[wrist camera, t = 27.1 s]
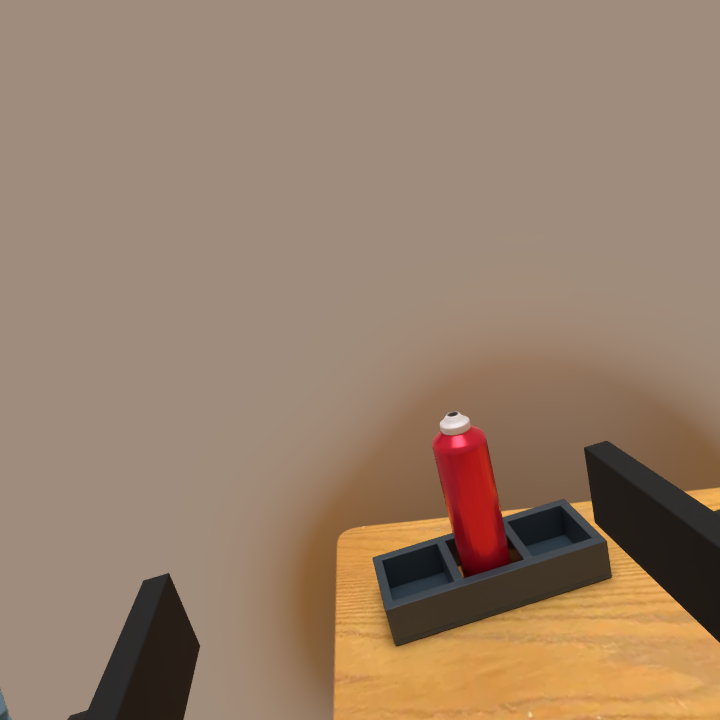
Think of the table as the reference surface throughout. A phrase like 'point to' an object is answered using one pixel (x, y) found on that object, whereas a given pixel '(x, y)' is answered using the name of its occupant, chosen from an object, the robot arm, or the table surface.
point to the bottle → (470, 495)
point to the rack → (490, 573)
